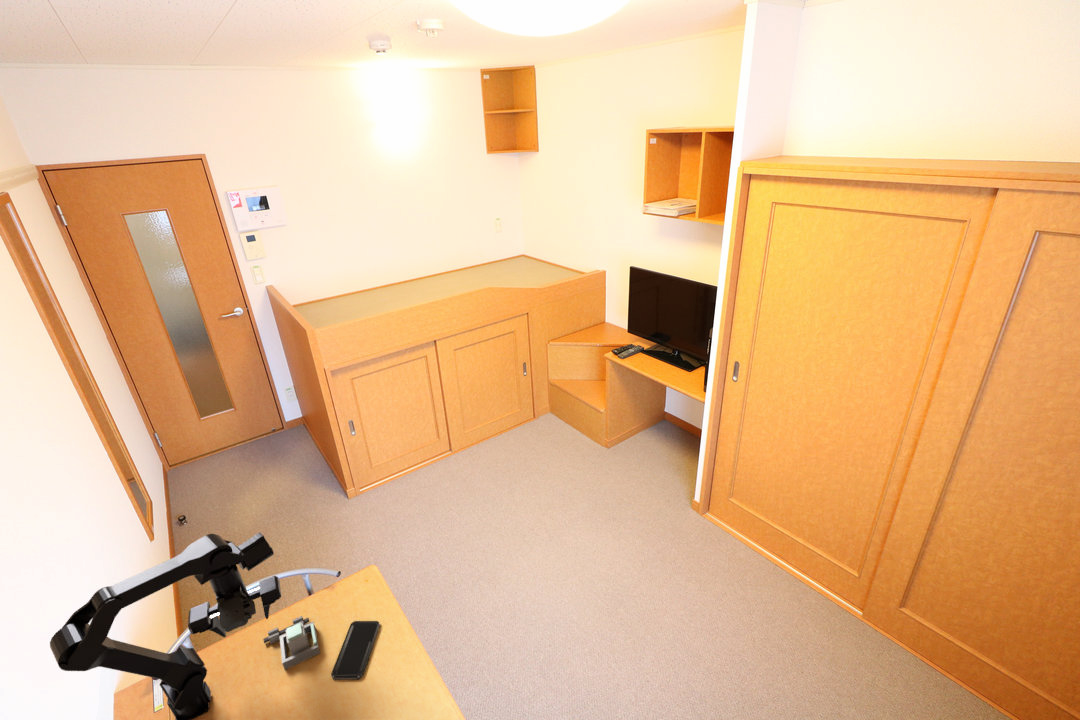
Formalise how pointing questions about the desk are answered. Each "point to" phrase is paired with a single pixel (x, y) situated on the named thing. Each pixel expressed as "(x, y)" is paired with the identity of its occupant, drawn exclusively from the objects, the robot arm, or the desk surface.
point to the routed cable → (276, 633)
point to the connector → (297, 639)
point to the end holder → (302, 655)
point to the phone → (355, 650)
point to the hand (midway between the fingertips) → (246, 626)
